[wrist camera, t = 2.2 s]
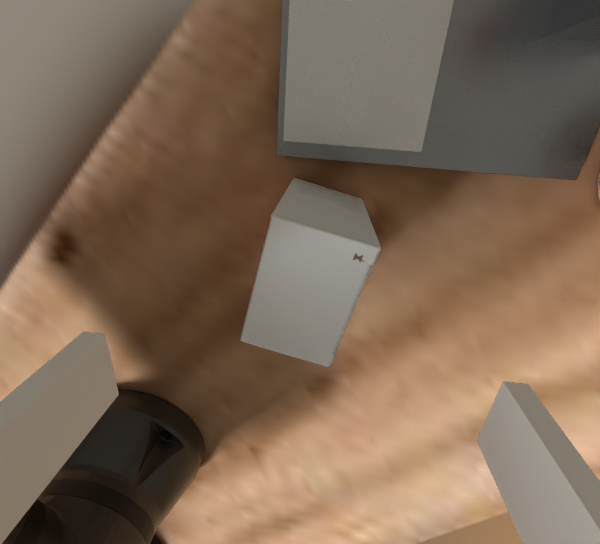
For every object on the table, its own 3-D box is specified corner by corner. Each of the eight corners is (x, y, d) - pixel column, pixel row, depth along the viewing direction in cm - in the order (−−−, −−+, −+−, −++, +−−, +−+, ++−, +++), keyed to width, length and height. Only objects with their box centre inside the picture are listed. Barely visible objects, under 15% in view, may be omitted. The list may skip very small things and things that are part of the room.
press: (279, 153, 24) (255, 168, 16) (290, -116, 18) (260, -296, 10) (561, 176, 23) (679, 204, 15) (672, -100, 17) (958, -286, 9)
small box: (293, 175, 24) (269, 209, 15) (364, 197, 25) (385, 245, 15) (268, 267, 28) (235, 343, 18) (330, 286, 28) (330, 371, 19)
